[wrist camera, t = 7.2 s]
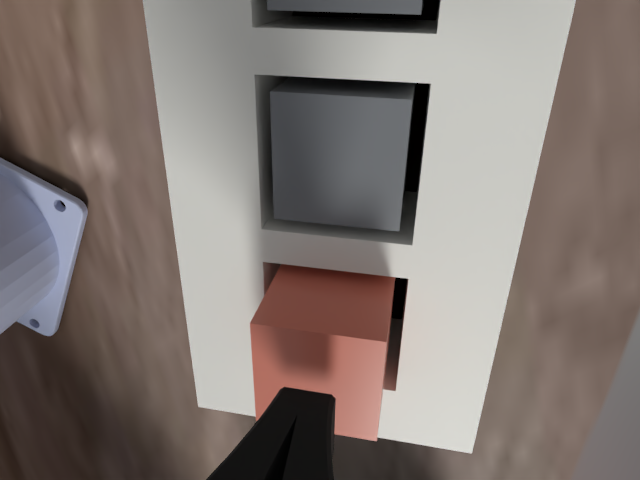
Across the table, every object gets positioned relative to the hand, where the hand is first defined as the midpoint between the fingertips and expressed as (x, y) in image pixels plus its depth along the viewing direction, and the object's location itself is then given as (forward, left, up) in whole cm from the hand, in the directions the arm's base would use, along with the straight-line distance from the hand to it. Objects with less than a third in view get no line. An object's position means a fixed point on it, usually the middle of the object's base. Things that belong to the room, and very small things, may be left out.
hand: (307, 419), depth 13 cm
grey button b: (-2, +5, -8) cm, 9 cm away
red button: (0, 0, -5) cm, 5 cm away
